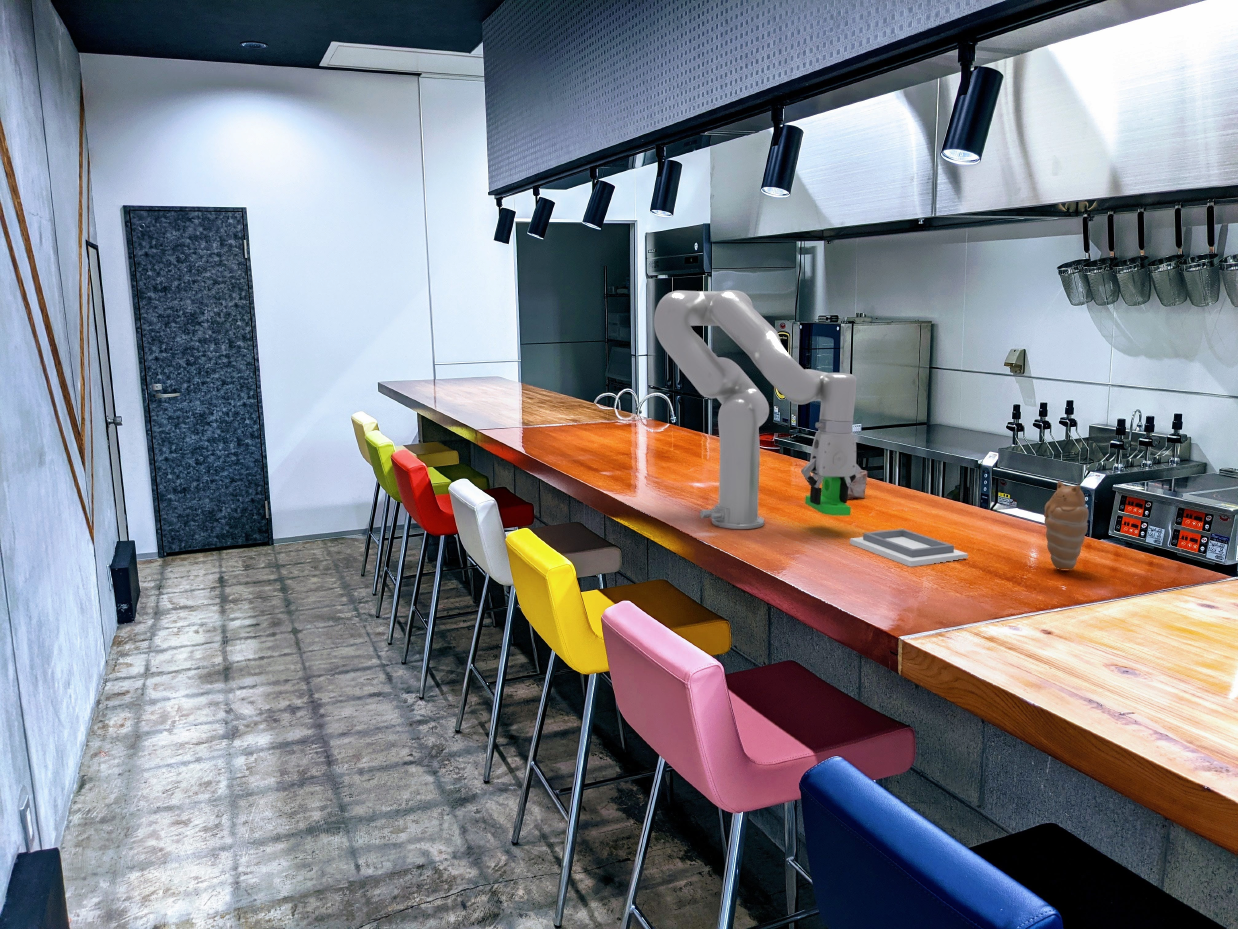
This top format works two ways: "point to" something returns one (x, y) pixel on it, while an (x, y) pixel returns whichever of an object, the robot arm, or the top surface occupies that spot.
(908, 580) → the top surface
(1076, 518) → the cat ice cream
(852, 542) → the socket board
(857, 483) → the food item
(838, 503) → the mechanical part
